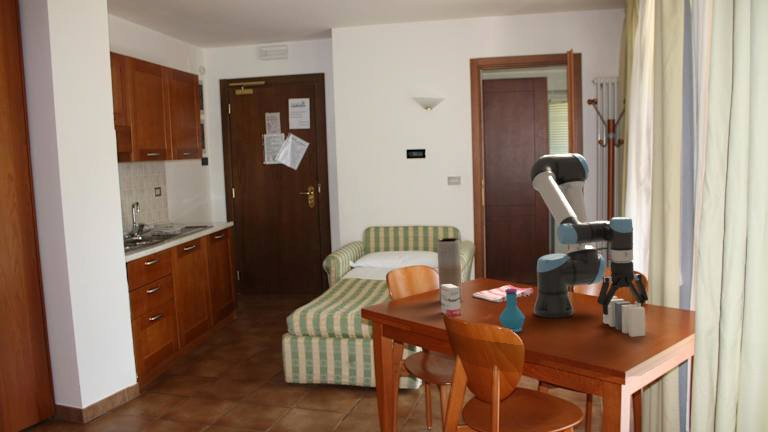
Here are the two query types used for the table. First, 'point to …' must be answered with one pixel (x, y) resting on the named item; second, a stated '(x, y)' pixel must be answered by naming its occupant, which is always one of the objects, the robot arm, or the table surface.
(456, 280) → the vase
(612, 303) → the domino
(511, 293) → the perfume bottle
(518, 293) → the dish towel
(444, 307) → the ink box
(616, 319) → the domino
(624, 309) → the domino
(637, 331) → the domino tail
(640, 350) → the table surface
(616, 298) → the domino head
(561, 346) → the table surface
